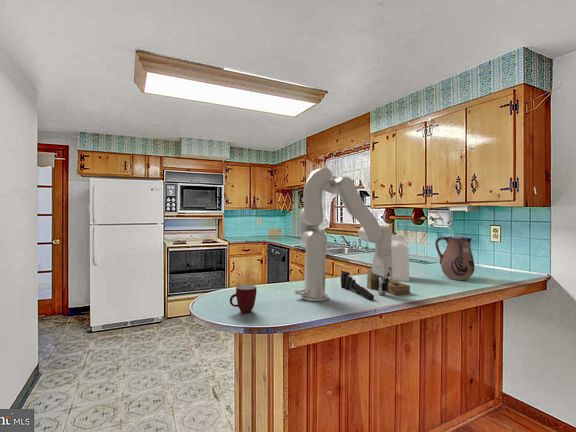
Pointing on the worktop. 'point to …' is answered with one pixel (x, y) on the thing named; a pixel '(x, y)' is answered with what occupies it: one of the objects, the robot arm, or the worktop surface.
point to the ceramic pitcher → (456, 258)
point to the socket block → (397, 288)
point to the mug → (245, 297)
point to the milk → (400, 258)
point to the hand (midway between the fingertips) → (382, 289)
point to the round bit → (381, 293)
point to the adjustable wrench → (354, 286)
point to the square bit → (371, 279)
